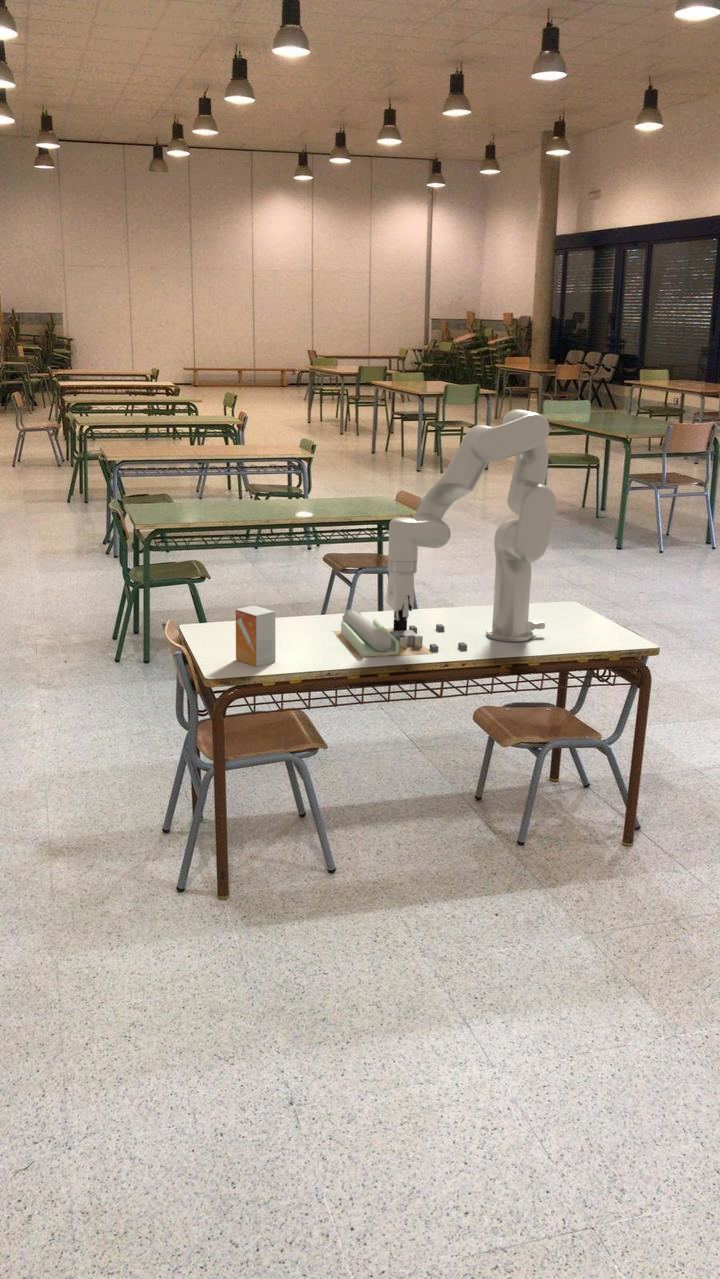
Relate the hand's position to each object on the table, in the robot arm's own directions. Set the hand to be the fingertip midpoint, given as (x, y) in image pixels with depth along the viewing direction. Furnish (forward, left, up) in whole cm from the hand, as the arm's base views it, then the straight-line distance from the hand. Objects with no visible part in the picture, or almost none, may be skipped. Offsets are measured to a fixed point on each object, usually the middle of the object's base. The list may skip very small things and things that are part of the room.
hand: (399, 634), depth 285 cm
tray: (+9, +3, -1) cm, 10 cm away
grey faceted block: (0, +4, -1) cm, 4 cm away
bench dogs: (0, +9, -1) cm, 9 cm away
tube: (+10, +3, 0) cm, 10 cm away
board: (+6, +3, -2) cm, 7 cm away
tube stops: (-9, +3, -2) cm, 10 cm away
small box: (+40, +9, -3) cm, 41 cm away
